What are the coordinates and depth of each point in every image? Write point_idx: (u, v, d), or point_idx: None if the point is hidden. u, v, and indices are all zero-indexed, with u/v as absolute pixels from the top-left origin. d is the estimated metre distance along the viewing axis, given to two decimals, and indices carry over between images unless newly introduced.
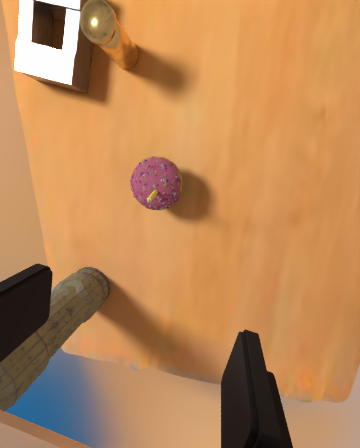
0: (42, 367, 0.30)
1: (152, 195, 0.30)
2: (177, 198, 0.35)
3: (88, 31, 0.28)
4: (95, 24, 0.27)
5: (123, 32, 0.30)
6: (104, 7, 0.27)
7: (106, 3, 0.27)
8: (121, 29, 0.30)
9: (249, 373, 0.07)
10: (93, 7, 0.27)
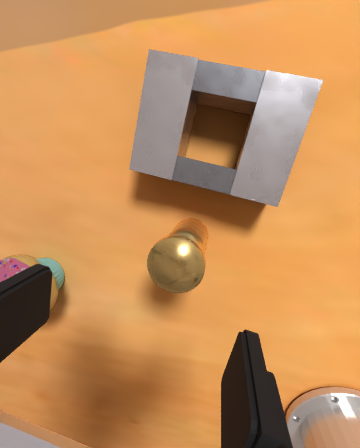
0: None
1: None
2: None
3: (161, 250, 0.17)
4: (169, 263, 0.17)
5: None
6: (190, 280, 0.17)
7: (195, 284, 0.17)
8: None
9: (249, 373, 0.07)
10: (191, 263, 0.17)
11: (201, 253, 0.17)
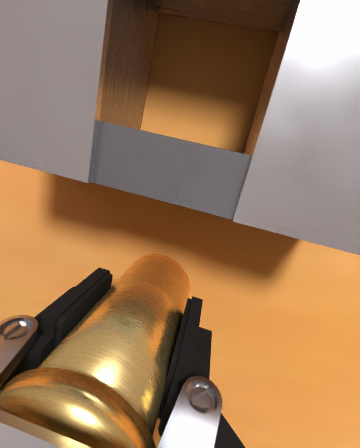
0: None
1: None
2: None
3: None
4: None
5: None
6: None
7: None
8: None
9: (183, 325, 0.09)
10: None
11: (136, 447, 0.05)
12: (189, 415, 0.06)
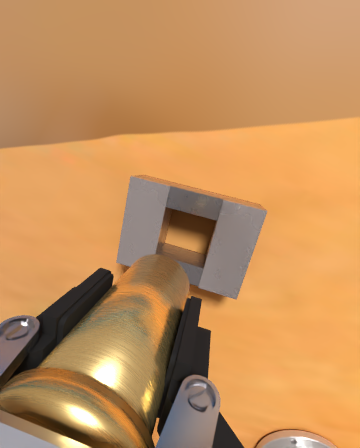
0: None
1: None
2: None
3: None
4: None
5: None
6: None
7: None
8: None
9: (182, 325, 0.09)
10: None
11: (135, 447, 0.05)
12: (187, 414, 0.06)
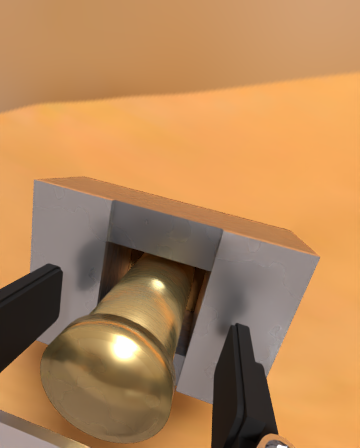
0: None
1: None
2: None
3: (67, 354, 0.07)
4: (89, 383, 0.07)
5: None
6: (139, 422, 0.07)
7: (150, 430, 0.07)
8: None
9: (238, 363, 0.08)
10: (139, 388, 0.07)
11: (163, 363, 0.07)
12: None
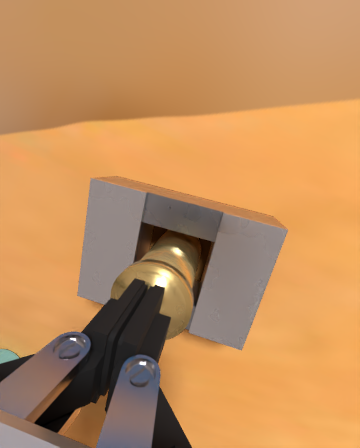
0: None
1: None
2: None
3: (129, 282, 0.12)
4: None
5: None
6: (171, 324, 0.12)
7: (178, 329, 0.12)
8: None
9: (139, 310, 0.09)
10: (173, 301, 0.12)
11: (187, 286, 0.12)
12: (130, 393, 0.06)
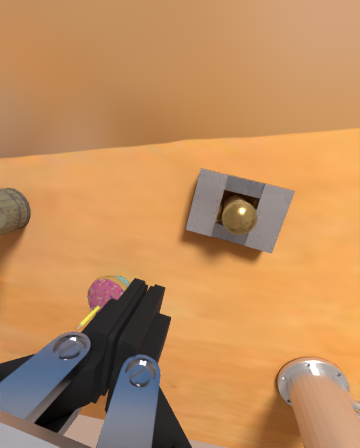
0: None
1: None
2: None
3: (231, 209, 0.29)
4: (236, 216, 0.30)
5: None
6: (248, 226, 0.30)
7: (251, 228, 0.30)
8: None
9: (139, 310, 0.09)
10: (249, 216, 0.29)
11: (255, 210, 0.29)
12: (130, 393, 0.06)
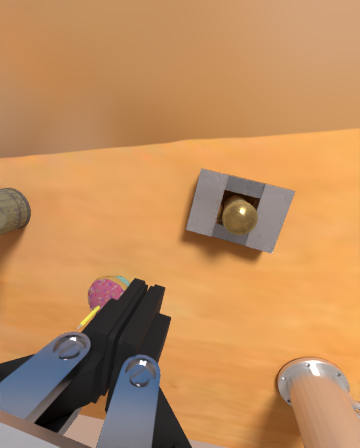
0: None
1: None
2: None
3: (231, 209, 0.29)
4: (236, 217, 0.30)
5: None
6: (248, 226, 0.30)
7: (251, 229, 0.30)
8: None
9: (139, 310, 0.09)
10: (250, 216, 0.29)
11: (255, 210, 0.29)
12: (130, 393, 0.06)
